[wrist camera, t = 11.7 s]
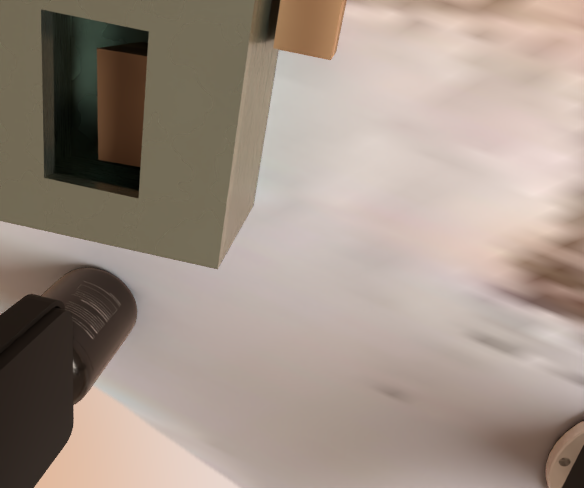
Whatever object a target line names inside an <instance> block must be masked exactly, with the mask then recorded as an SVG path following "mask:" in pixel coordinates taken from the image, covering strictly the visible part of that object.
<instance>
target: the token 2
mask: <svg viewBox="0 0 584 488" xmlns="http://www.w3.org/2000/svg"><path fill="white" fill-rule="evenodd" d="M346 1H347V0H281V1H280V7H279V14H278V20H277V26H276V33H275V39H274V45H273V48H274V49H279V50H284V51H289V52H294V53H299V54H304V55H309V56H313V57H318V58H323V59H328V60H331V59H332V57H333V56H334V54H335V53H336V49H337V45H338V40H339V35H340V30H341V25H342V20H343V15H344V10H345V6H346Z"/></svg>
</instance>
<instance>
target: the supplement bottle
mask: <svg viewBox="0 0 584 488" xmlns="http://www.w3.org/2000/svg"><path fill="white" fill-rule="evenodd" d="M41 296H42V297H47V298H51V299H56V300H60V301H62V302H63V304H64V306H65V310H68V311H70V312H71V314H72V325H73V405H74V404H76V403H77V402H79V401H80V400H81V399H82V398H83V397H84V396H85V395H86V394H87V392H88V391H89V390H90V389H91V387H92V386H93V384H94V383H95V382H96V380H97V379H98V377H99V376H100V375H101V373H102V372H103V370H104V369H105V367H106V366H107V365H108V363H109V362H110V360H111V359H112V358H113V356H114V355H115V353H116V352H117V351H118V349H119V348H120V346H121V345H122V344H123V342H124V341H125V339H126V338H127V336H128V335H129V333H130V332H131V330H132V329H133V327H134V325H135V322H136V318H137V307H136V302H135V299H134V297H133V295H132V293H131V291H130V290H129V289H128V287H127V286H126V285H125V284H124V283H123V282H122V281H121V280H120V279H119V278H117V277H116V276H114V275H112V274H111V273H109V272H106V271H104V270H100V269H96V268H79V269H75V270H73V271H70V272H68V273H67V274H65V275H64V276H63V277H61V278H60V279H59V280H58V281H57V282H56V283H54V284H53V285H52V286H51V287H50V288H49V289H48V290H47V291H46V292H45V293H43V294H42V295H41Z"/></svg>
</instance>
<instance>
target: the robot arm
mask: <svg viewBox="0 0 584 488" xmlns="http://www.w3.org/2000/svg"><path fill="white" fill-rule="evenodd" d="M72 428H73V325H72V314H71V312H70V311H68V310H65V306H64V304H63V302H62V301H60V300H56V299H51V298H47V297H42V296H38V295H33V294H29V295H27V296H25V297H23V298H22V299H21V300H19V301H18V302H17V303H16V304H14V305H13V306H12V307H10V308H9V309H8V310H7V311H5V312H4V313H3V314H1V315H0V488H34V487H35V485H36V484H37V482H38V481H39V480H40V478H41V477H42V476H43V474H44V473H45V472H46V470H47V469H48V468H49V466H50V465H51V463H52V462H53V461H54V459H55V458H56V457H57V455H58V454H59V453H60V451H61V450H62V449H63V447H64V446H65V444H66V443H67V441H68V439H69V437H70V435H71V432H72ZM545 476H546V481H547V485H548V488H584V421H582V422H580V423H578V424H577V425H575V426H574V427H573V428H571V429H570V430H569V431H567V432H566V433H565V434H564V435H563V436H562V437H561V438H560V439H559V440H558V441H557V442H556V444H555V445H554V447H553V449H552V450H551V452H550V454H549V457H548V460H547V463H546V474H545Z"/></svg>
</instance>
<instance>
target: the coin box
mask: <svg viewBox="0 0 584 488" xmlns="http://www.w3.org/2000/svg"><path fill="white" fill-rule="evenodd" d="M280 1H281V0H0V221H3V222H8V223H12V224H17V225H21V226H26V227H30V228H35V229H39V230H44V231H48V232H53V233H57V234H62V235H66V236H71V237H75V238H80V239H84V240H89V241H93V242H98V243H102V244H107V245H111V246H116V247H120V248H125V249H129V250H134V251H138V252H143V253H147V254H152V255H156V256H161V257H165V258H170V259H174V260H179V261H183V262H188V263H192V264H197V265H201V266H206V267H210V268H215V269H218V267H219V266H220V264H221V262H222V260H223V259H224V257H225V255H226V253H227V252H228V250H229V248H230V246H231V244H232V243H233V241H234V239H235V237H236V236H237V234H238V232H239V230H240V229H241V227H242V225H243V223H244V221H245V220H246V218H247V216H248V214H249V213H250V211H251V209H252V207H253V205H254V199H255V193H256V187H257V180H258V174H259V168H260V162H261V156H262V149H263V143H264V137H265V131H266V125H267V118H268V112H269V106H270V100H271V94H272V87H273V81H274V75H275V69H276V63H277V56H278V50H279V49H274V48H273V45H274V39H275V33H276V26H277V20H278V14H279V7H280ZM137 42H144V43H148V53H147V70H146V86H145V102H144V119H143V135H142V151H141V167H137V166H131V165H125V164H120V163H114V162H108V161H103V160H98V101H97V48H101V47H108V46H116V45H123V44H130V43H137Z"/></svg>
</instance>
